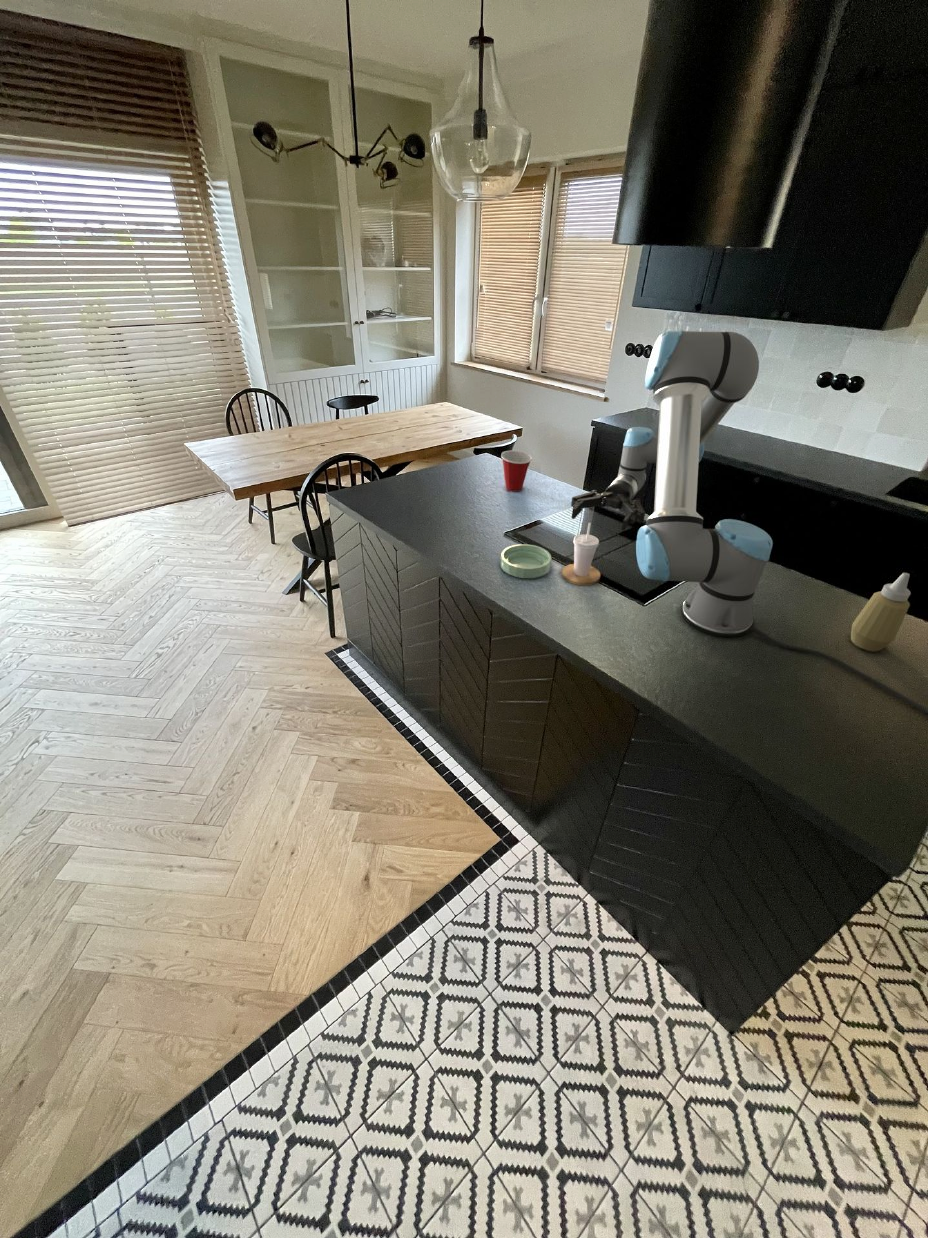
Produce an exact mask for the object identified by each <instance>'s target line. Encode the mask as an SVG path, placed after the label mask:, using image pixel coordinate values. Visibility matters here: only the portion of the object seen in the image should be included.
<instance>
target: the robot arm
mask: <svg viewBox="0 0 928 1238" xmlns="http://www.w3.org/2000/svg"><path fill="white" fill-rule="evenodd" d="M759 370H760V359H759V354H758V351H757V349H756V347H755V345H754V344H753V343H752V341H751V340H750V339H749V338H748V337H746V336H745V335H743V334H742V333H739V332H735V331H702V330H701V331H697V330H696V331H695V330H693V331H692V330H689V331H688V330H683V329H680V330H670V331H664V332H662V333H661V334H660V335H658V337H657V339H656V341H655V342H654V345H653V347H652V350H651V353H650V356H649V359H648V363H647V367H646V372H645V376H644V377H645V378H644V387H645V389H647V390H649V391H652V400H653V402H654V403H655V404H657V406H659V413H658V430H657V431H658V432H657V435H654V430H652V429H651V428H649V427H643V426H632V427H630V428H628V429H627V431H626V434H625V436H624V442H623V446H622V453H621V457H620V458H621V459H620V464H619V468H618V473H617V476H616V478H615V479H614V480H613V481H612V482H611V483H610V485H609V486H608V487H607V488H606V489H605V491H604V492H602V493H598V490H597V489H592V490H591V491H588V492H585V493H582V494H579V495H575V496H572V497H571V502H570V506H571V507H572V512H571V519H572V520H575V519H576V518H577V517H578V516H579V514H581V512H583V509H588V508H589V509H590V508H593V507H594V508H595V507H599V508H604V507H606V508H611V509H614V510H618V511H619V512H621V513H623V514H625V515H626V516H625V517H624V518H623V520H622V524H621V531H625V530H626V529H627V527H628V526H629V525H633V524H634V523H635V522H636V521H638V522H640V523H643V522H644V521H646V522H645V525H643V526H641V527H640V528H639V529H638V530H637V535H636V541H635V553H636V561H637V566H638V568H639V571H640V573H641V574H642V575H643V577H644V578H646V579H648V580H653V581H654V580H655V581H662V582H686V583H687V582H689V583H697V584H696V585H695V587H694V588H693V589H692V591H691V592H690V593H689V595H688V596H687V597H686V598H685V600H684V601H683V604H682V606H681V616H682V617H683V619H684V620H685V622H687V624H689V625H690V627H692V628H694V629H696V630H698V631H700V632H702V633H705V634H707V635H711V636H715V637H719V638H737V637H741V636H744V635H746V634H747V633H748V632H749V631H751V632H753V633H755V634H756V635H759V636H761V637H762V638H764V639H765V640H767V641H769V642H770V643H772V644H774V645H776V646H779V647H782V648H785V649H788V650H793V651H797V652H802V653H803V652H804V653H809V654H813V655H816V656H819V657H822V658H825V659H827V660H829V661H831V662H833V663H835V664H837V665H838V666H839V665H840V667H843V668H844V669H847V670H848V671H850V672H852V673H853V674H855V675H857V676H859V677H861V678H863V679H864V680H866V681H868V682H870V683H872V684H874V685H875V686H877V687H879V688H880V689H882V690H884V691H886V692H888V693H890V694H891V695H893V696H894V697H896V698H898V699H900V700H902V701H904V702H905V703H907V704H909V705H910V706H912V707H914V708H916V709H917V710H919V711H921V712H923V713H924V714H926V715H928V708H927V707H925V706H923V705H921V704H920V703H918V702H916V701H914V700H913V699H910V698H909V697H907V696H905V695H903V694H902V693H900V692H898V691H897V690H895V689H893V688H891V687H890V686H887V685H886V684H884V683H882V682H881V681H879V680H876V679H875V678H873V677H871V676H869V675H867V674H866V673H864V672H862V671H860V670H858V669H856V668H854V667H853V666H851V665H849V664H848V663H845V662H844V661H842V660H840V659H838V658H836V657H834V656H832V655H829V654H827V653H825V652H822V651H819V650H815V649H812V648H807V647H801V646H796V645H792V644H791V645H790V644H788V643H784V642H781V641H778V640H776V639H775V638H773V637H771V636H770V635H768V634H766V633H764V632H763V631H761V630H759V629H757V628H755V627H753V626H752V624H753V622H754V595H755V592H756V591H757V588H758V585H759V583H760V580H761V578H762V576H763V573H764V571H765V568H766V566H767V563H768V561H769V560H770V557H771V552H772V549H773V544H774V542H773V539H772V536H771V535H770V534H768V532H766V531H765V530H764V529H762V528H760V527H759V526H757V525H754V524H752V523H749V522H747V521H742V520H738V519H733V518H727V519H726V518H725V519H722V520H719V521H718V522H717V524H715V526H714V528H704V517H703V516H702V515H700V514H699V513H698V512H697V497H698V496H697V495H698V481H699V480H698V479H699V478H698V477H699V463H700V462H701V461H702V459H703V456H704V453H705V441H706V440H707V439H708V438H709V436H710V435H711V434H712V432H713V431H714V430H715V428H716V427H717V426H718V425H719V423H720V422H721V421H722V420H723V418H724V417H725V416H726V414H728V412H729V411H730V410H731V408H732V407H733V406H734V404H735V403H738V402H741V401H742V400H744V398H746V396H747V395H748V394H749V393H750V392H751V390H752V389H753V387H754V385H755V383H756V381H757V380H758V379H757V378H758V376H759V372H760V371H759ZM648 464H656V468H655V483H654V486H655V487H654V502H653V503H654V504H653V505H654V506H653V512H652V514H650V516H648V517H647V518H646V519H645V516H646V511H645V509H644V508H643V505H642V504H641V499H640V498H636V499H634V497H635V496H636V495H637V493H638V492H639V491H640V490H641V489H642V487H644V485H645V482H646V479H647V473H646V470H647V465H648ZM633 499H634V500H633Z"/></svg>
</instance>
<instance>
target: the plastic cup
mask: <svg viewBox="0 0 928 1238" xmlns="http://www.w3.org/2000/svg"><path fill="white" fill-rule="evenodd" d="M500 458H501V460H502V465H503V475H504V483H505V484H504V485H505V489H506V490H507V491H510V492H519V491H522V489H523V487H524V484H525V480H526V476H527V473H528V468H529V466H530V464H531V462H532V461H533V456H532V455H531V454H530V453H527V452H525V451H521V450H515V449H514V450H505V451H502V452H501V455H500Z"/></svg>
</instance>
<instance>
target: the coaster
mask: <svg viewBox="0 0 928 1238" xmlns="http://www.w3.org/2000/svg"><path fill="white" fill-rule="evenodd" d="M561 577H562V578H563V579H564V580H565V581H566V582H568V583H570V584H573V585H578V586H591V585H595V584H597V583H598V582H599V581H600V579H601V572H600V570H599V569H598V568H596V567H595V566H592V565H591V566H590V570H589V573H588V575H586V576H578V575H576V574H575V573H574V563H569V564H567V565H565V566H564V567H563V568H562V570H561Z"/></svg>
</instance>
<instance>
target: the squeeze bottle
mask: <svg viewBox="0 0 928 1238" xmlns="http://www.w3.org/2000/svg"><path fill="white" fill-rule="evenodd" d="M909 579H910V573H908V572H902V574H900V575H899V577H897V579H895V581H893V583H885V584H884V585H883V587H882V589H881V591H876V592H874V593H873V594H872V596H871V597H870V598H869V600H868V601H867V602H866V604H865V605H864V606H863V608H862V610H861V611H860V612H859V614H858V615H857V616H856V618H855V619H854V621H853V622H852V623H851V634H850V640H851V642H852V643H853V644H854V646H856V647H858V648H860V649H862V650H865V651H869V652H879V651H881V650H883V649H884V648H886V647H887V646H888V645H890V644H891V643H892V642H894V641H895V640H896V637H897V635H898V633H899V631H900V628H901V626H902V624H903V622H904V619H905V618H906V615H907V612H908V610H909V608H910V606H911V603H910V602H909V600H908V599H909V597H910V596H911V594H912V593H911V591H910V590H909V588H908V583H909Z"/></svg>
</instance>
